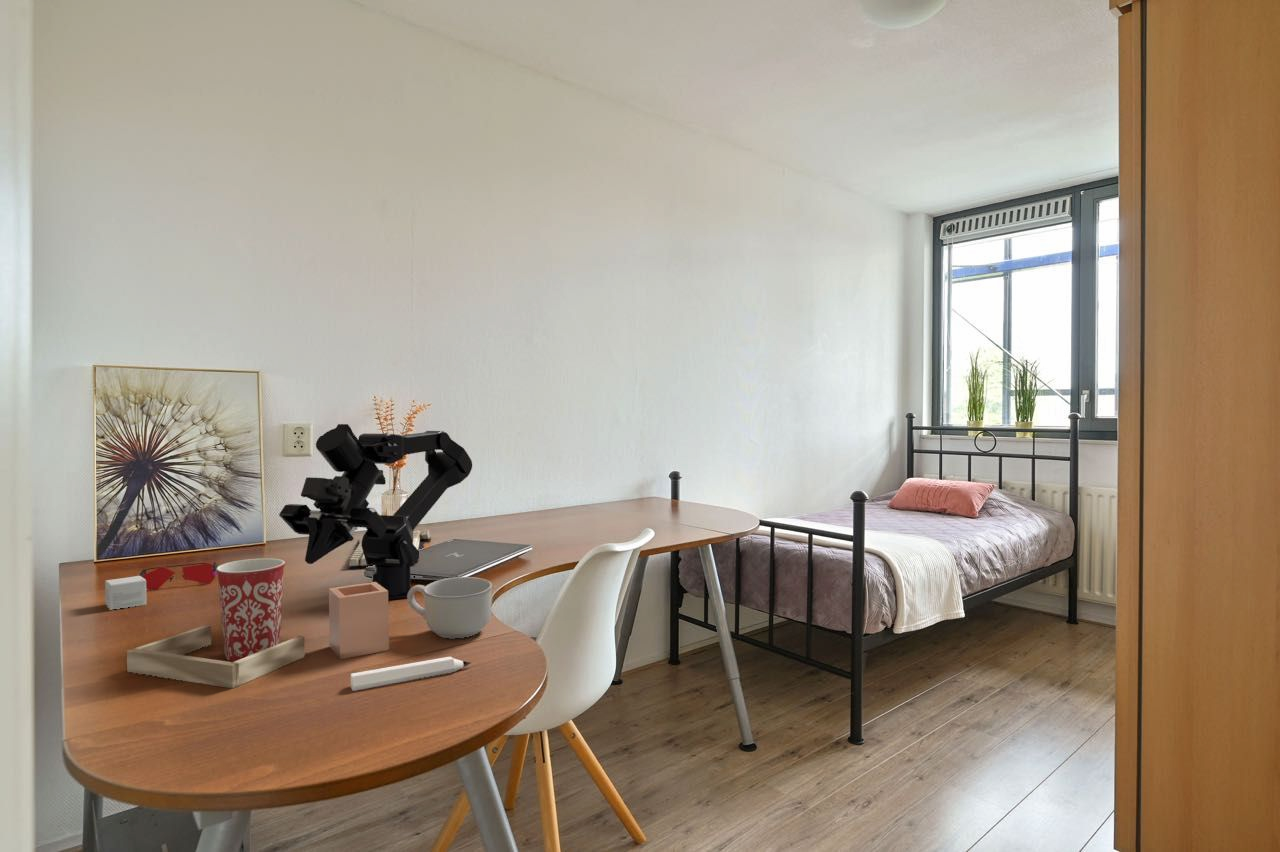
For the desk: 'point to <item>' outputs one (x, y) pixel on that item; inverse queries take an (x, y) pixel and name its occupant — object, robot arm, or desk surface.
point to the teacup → (454, 605)
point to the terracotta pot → (358, 619)
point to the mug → (250, 605)
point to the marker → (405, 672)
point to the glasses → (193, 573)
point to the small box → (125, 592)
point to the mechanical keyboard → (360, 563)
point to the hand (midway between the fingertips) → (308, 562)
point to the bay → (208, 660)
